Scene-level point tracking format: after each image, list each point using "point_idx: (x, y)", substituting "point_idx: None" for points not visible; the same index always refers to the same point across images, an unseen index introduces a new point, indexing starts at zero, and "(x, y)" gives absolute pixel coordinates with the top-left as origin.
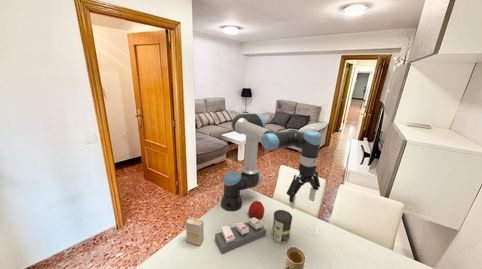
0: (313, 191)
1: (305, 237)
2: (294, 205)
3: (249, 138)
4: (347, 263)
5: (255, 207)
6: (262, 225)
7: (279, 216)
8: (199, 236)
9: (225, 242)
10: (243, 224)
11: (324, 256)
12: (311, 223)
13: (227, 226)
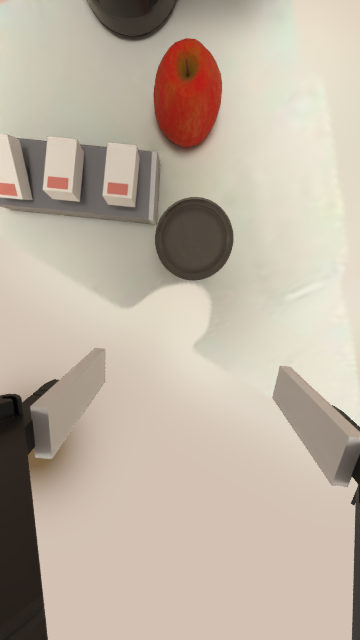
0: (321, 453)
1: (247, 292)
2: (93, 396)
3: None
4: (258, 387)
5: (165, 92)
6: (151, 194)
7: (178, 235)
8: None
9: None
10: (70, 161)
11: (233, 353)
12: (316, 265)
13: (1, 139)
